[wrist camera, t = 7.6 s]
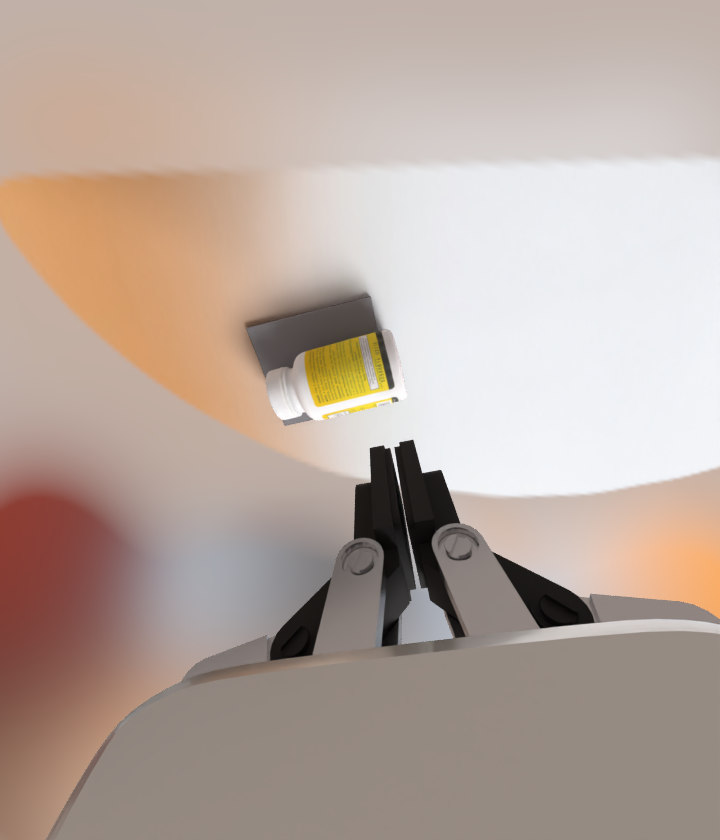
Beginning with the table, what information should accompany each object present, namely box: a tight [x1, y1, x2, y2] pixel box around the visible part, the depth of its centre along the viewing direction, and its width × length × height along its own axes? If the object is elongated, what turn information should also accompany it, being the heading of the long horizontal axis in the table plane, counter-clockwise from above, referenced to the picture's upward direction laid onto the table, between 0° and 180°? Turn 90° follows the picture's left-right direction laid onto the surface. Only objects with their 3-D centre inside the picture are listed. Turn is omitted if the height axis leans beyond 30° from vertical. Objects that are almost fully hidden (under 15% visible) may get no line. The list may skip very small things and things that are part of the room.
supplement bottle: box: [266, 330, 407, 420], centre depth 24 cm, size 5×5×10 cm
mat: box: [246, 297, 378, 426], centre depth 27 cm, size 10×9×1 cm
